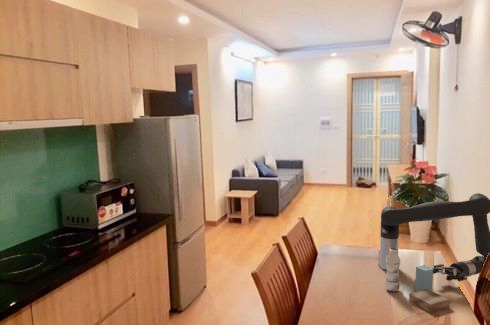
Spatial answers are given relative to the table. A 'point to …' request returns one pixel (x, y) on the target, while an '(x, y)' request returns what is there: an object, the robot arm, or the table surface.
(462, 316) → the table surface
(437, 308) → the walnut block
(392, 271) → the plastic bottle
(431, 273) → the blue block
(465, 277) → the robot arm
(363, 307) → the table surface
